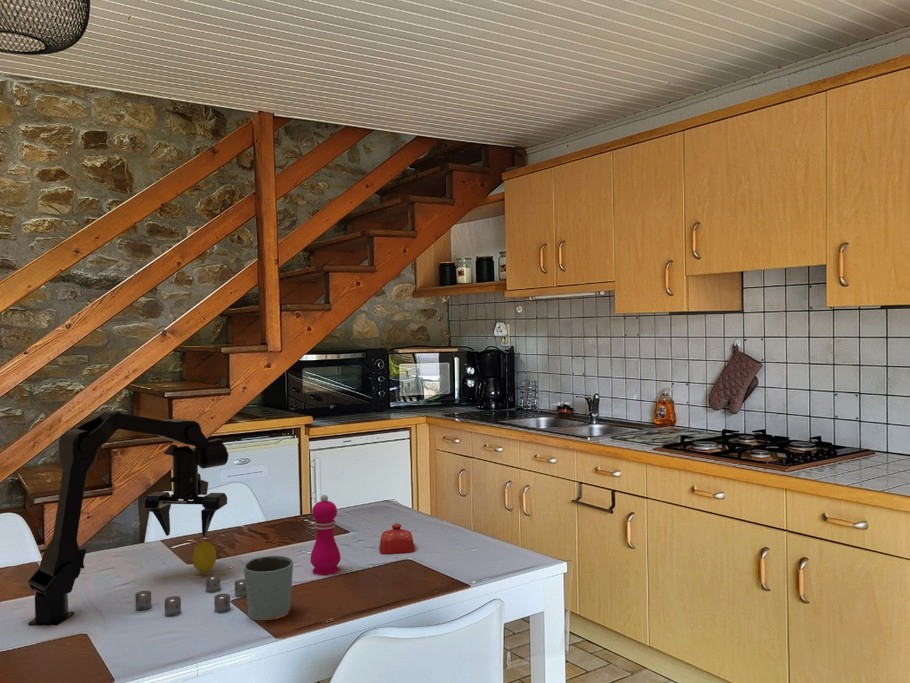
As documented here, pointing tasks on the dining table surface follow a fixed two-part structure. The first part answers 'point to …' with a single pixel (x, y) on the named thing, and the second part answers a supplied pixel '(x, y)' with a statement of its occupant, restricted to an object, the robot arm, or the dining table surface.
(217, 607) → the spacers
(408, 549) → the butter dish
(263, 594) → the grey ceramic cup
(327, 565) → the pepper mill
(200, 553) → the lemon
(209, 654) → the dining table surface
